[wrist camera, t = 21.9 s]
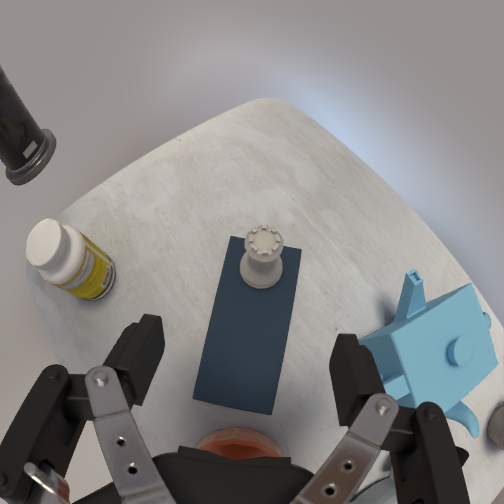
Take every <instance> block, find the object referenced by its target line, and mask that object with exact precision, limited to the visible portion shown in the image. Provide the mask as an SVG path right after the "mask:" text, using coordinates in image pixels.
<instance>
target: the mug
mask: <svg viewBox="0 0 504 504" xmlns="http://www.w3.org/2000/svg"><path fill="white" fill-rule="evenodd" d="M488 436H489V438H490V439H491V440H493V441H494V442H495V444H496V445H497V446H498V447H500V448H501V449H502V450H504V406H501V407H499V408H498V409H497V410H496V411H495V412H494V414H493V415H492V417H491V420H490V422H489V426H488Z"/></svg>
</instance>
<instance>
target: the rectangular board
mask: <svg viewBox="0 0 504 504" xmlns="http://www.w3.org/2000/svg"><path fill="white" fill-rule="evenodd" d="M301 251H302V250H301V249H297V248H292V247H286V246H284V247H283V250H282V252H281V254H280V255H279V256H280V258H281V260H282V274H281V276H280V279H279V280H278V281H277V282H276V283H275V284H274V285H273V286H270V287H268V288H255V287H252V286H250V285H248V284H247V283H246V282H245V281H244V280H243V278H242V275H241V273H240V263H241V259H242V257H243V255H244V254H245V253H246V252H247V251H246V249H245V239H244V238H239V237H233V236H231V237H230V241H229V245H228V249H227V253H226V257H225V261H224V265H223V269H222V273H221V277H220V281H219V285H218V289H217V293H216V298H215V302H214V306H213V310H212V314H211V319H210V323H209V327H208V331H207V336H206V340H205V344H204V349H203V353H202V358H201V362H200V367H199V371H198V376H197V380H196V385H195V389H194V394H193V399H196V400H200V401H204V402H208V403H212V404H217V405H221V406H225V407H230V408H235V409H240V410H245V411H250V412H255V413H261V414H267V415H271V414H272V409H273V405H274V400H275V396H276V391H277V386H278V381H279V377H280V372H281V367H282V362H283V357H284V352H285V346H286V341H287V336H288V330H289V325H290V319H291V313H292V308H293V302H294V296H295V290H296V284H297V277H298V271H299V265H300V258H301Z"/></svg>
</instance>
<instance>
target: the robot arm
mask: <svg viewBox="0 0 504 504" xmlns="http://www.w3.org/2000/svg"><path fill="white" fill-rule="evenodd" d="M46 142H47V137H46V135H45V134H44V133H43V131H41V129H40V128H39V126H38V125H37V123H36V122H35V120H34V119H33V117H32V116H31V114H30V113H29V111H28V110H27V108H26V107H25V105H24V104H23V102H22V100H21V99H20V97H19V96H18V94H17V93H16V91H15V89H14V88H13V87H12V84H11V83H10V81H9V80H8V78H7V76H6V74H5V73H4V71H3V69H2V67H1V66H0V160H1V161H2V162H3V163H4V164H5V166H6V167H7V168H8V170H9V171H10V172H11V173H13V174H19V173H22V172H23V171H25V170H27V169H28V168H29V167H30V166H31V165H32V164H33V163H34V162H35V161H36V160H37V159H38V158H39V156H40V155H41V153H42V152H43V150H44V148H45V146H46ZM164 348H165V340H164V333H163V325H162V318H161V316H156V315H150V314H144V315H143V316H142V318H141V320H140V321H139V323H132V324H131V325H129V326H128V327H126V328H125V329H124V331H123V332H122V334H121V336H120V338H119V339H118V340H117V343H116V344H115V345H114V347H113V349H112V350H111V352H110V353H109V355H108V357H107V358H106V360H105V362H104V363H103V365H102V366H97V367H94V368H92V369H91V370H89V371H88V373H87V374H69V373H68V371H67V369H66V368H65V367H64V366H62V365H58V364H55V365H50V366H48V367H46V368H45V369H44V370H43V371H42V373H41V374H40V376H39V377H38V379H37V380H36V382H35V384H34V385H33V387H32V389H31V390H30V392H29V393H28V395H27V397H26V398H25V400H24V402H23V404H22V405H21V407H20V409H19V411H18V413H17V414H16V416H15V418H14V420H13V422H12V423H11V425H10V427H9V429H8V431H7V433H6V435H5V437H4V439H3V441H2V443H1V445H0V498H2V499H4V500H5V501H6V502H7V503H9V504H70V501H69V492H70V490H69V486H68V483H67V481H66V480H65V479H64V478H65V475H66V472H67V469H68V466H69V463H70V461H71V458H72V456H73V453H74V450H75V448H76V445H77V442H78V440H79V438H80V435H81V433H82V430H83V428H84V426H85V423H86V421H87V420H90V421H93V424H94V427H95V431H96V434H97V437H98V440H99V443H100V446H101V450H102V452H103V455H104V458H105V461H106V464H107V466H108V469H109V471H110V474H111V476H112V479H113V482H111V483H109V484H108V485H106V486H104V487H102V488H100V489H99V490H97V491H95V492H93V493H91V494H89V495H87V496H85V497H83V498H81V499H79V500H78V501H76V502H74V503H72V504H348V503H349V502H350V500H351V499H352V497H353V496H354V494H355V493H356V491H357V490H358V488H359V487H360V485H361V484H362V482H363V481H364V479H365V477H366V476H367V474H368V473H369V471H370V469H371V468H372V466H373V464H374V462H375V461H376V459H377V457H378V455H379V454H380V452H381V450H385V451H390V457H391V463H392V469H393V475H394V482H395V489H396V497H397V504H470V500H469V496H468V491H467V487H466V483H465V479H464V475H463V471H462V468H461V464H460V461H459V457H458V454H457V451H456V447H455V444H454V441H453V438H452V435H451V432H450V429H449V426H448V423H447V420H446V418H445V415H444V412H443V410H442V408H441V407H440V406H439V405H437V404H436V403H434V402H429V401H426V402H423V403H421V404H420V405H419V406H418V407H417V408H410V407H404V406H400V405H398V403H397V401H396V400H395V399H394V398H393V397H392V396H390V395H388V394H386V391H385V388H384V385H383V382H382V379H381V377H380V374H379V371H378V369H377V365H376V363H375V360H374V357H373V355H372V352H371V351H370V350H369V349H368V348H367V347H366V346H365V345H359V342H358V339H357V336H356V335H355V334H338V336H337V339H336V342H335V345H334V348H333V351H332V354H331V357H330V363H329V369H330V375H331V380H332V386H333V391H334V396H335V402H336V408H337V413H338V419H339V425H340V426H348V429H349V430H348V431H347V433H346V434H345V435H344V437H343V438H342V440H341V441H340V442H339V444H338V445H337V447H336V448H335V449H334V451H333V452H332V453H331V455H330V456H329V457H328V459H327V460H326V461H325V463H324V464H323V465H322V466H321V468H320V469H319V470H318V471H317V473H316V474H315V475H314V474H313V473H312V472H310V471H308V470H307V469H305V468H302V467H300V466H297V465H294V464H291V457H267V456H262V457H255V458H248V459H240V460H232V459H229V458H226V457H223V456H220V455H217V454H214V453H212V452H209V451H206V450H200V449H194V448H188V447H183V446H179V449H178V452H172V453H165V454H161V455H158V456H155V457H153V458H152V457H151V455H150V453H149V451H148V449H147V447H146V445H145V443H144V440H143V438H142V436H141V434H140V432H139V429H138V427H137V425H136V422H135V420H134V418H133V415H132V413H131V409H132V406H133V404H135V405H139V406H142V404H143V401H144V399H145V396H146V394H147V391H148V389H149V386H150V384H151V381H152V379H153V377H154V374H155V372H156V369H157V367H158V365H159V362H160V360H161V358H162V355H163V352H164Z"/></svg>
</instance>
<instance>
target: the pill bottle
mask: <svg viewBox="0 0 504 504" xmlns="http://www.w3.org/2000/svg"><path fill="white" fill-rule="evenodd" d="M26 256H27V259H28V261H29V262H30V263H31V264H32V265H33V266H35V267H37V268H38V270H39V273H40V274H41V276H42V277H43V278H44V279H45V280H46V281H47V282H49V283H51V284H53V285H55V286H57V287H59V288H61V289H63V290H65V291H67V292H69V293H72V294H74V295H76V296H78V297H80V298H83V299H86V300H97V299H99V298H101V297H103V296H104V295H105V294H106V293H107V292H108V291H109V290H110V288H111V286H112V284H113V281H114V275H115V271H114V265H113V263H112V261H111V259H110V258H109V257H108V256H107V255H106V254H105V253H104V252H103V251H102V250H101V249H99V248H98V247H97V246H96V245H95V244H94V243H92V242H91V241H90V240H89V239H88V238H87V237H85V236H84V235H83V234H82V233H81V232H80V231H79V230H78V229H76V228H75V227H73V226H70V225H61V224H59V223H58V222H57V221H56V220H54V219H45V220H42V221H40V222H39V223H38V224H37V225H36V226H35V227H34V228H33V229H32V231H31V232H30V234H29V236H28V239H27V243H26Z"/></svg>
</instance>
